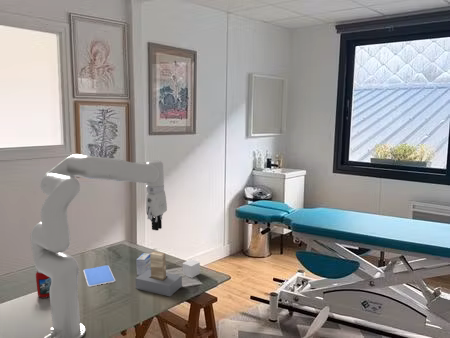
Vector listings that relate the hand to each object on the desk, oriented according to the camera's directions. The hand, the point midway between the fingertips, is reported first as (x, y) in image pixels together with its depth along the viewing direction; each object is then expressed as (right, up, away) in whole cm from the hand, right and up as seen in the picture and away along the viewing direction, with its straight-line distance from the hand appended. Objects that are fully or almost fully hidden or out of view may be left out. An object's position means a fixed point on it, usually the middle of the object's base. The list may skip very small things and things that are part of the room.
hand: (156, 228), depth 184 cm
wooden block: (0, -23, +5) cm, 24 cm away
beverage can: (-49, -29, -1) cm, 57 cm away
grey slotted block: (0, -28, +6) cm, 28 cm away
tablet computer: (-31, -26, +17) cm, 44 cm away
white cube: (+14, -25, +19) cm, 34 cm away
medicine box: (-10, -25, +21) cm, 34 cm away
